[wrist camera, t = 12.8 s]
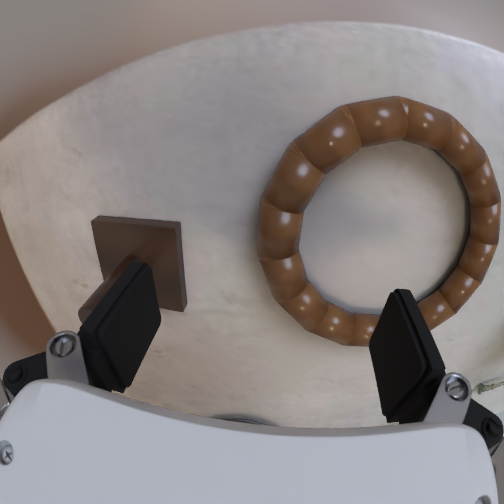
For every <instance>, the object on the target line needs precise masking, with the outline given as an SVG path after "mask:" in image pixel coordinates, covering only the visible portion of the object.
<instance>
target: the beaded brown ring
mask: <svg viewBox="0 0 504 504" xmlns="http://www.w3.org/2000/svg"><path fill="white" fill-rule="evenodd" d="M398 140H403V141H407V142H411V143H414V144H418V145H422V146H425V147H428V148H432V149H435V150H436V151H437V152H438V153H439V154H441V155H442V156H443V157H444V158H445V159H446V160H447V161H448V162H449V163H450V164H451V165H452V166H453V167H454V168H455V169H456V170H457V171H458V172H459V174H460V177H461V179H462V181H463V184H464V186H465V189H466V191H467V194H468V196H469V199H470V235H469V237H468V240H467V243H466V246H465V249H464V252H463V254H462V257H461V259H460V262H459V264H458V265H457V267H456V268H455V269H454V271H453V272H452V273H451V274H450V276H449V277H448V278H447V279H446V281H445V282H444V283H443V284H442V286H441V287H440V288H439V289H438V290H437V291H435V292H434V293H432V294H431V295H429V296H428V297H426V298H425V299H423V300H422V301H420V302H419V303H417V305H418V307H419V309H420V311H421V313H422V315H423V317H424V319H425V321H426V324H427V326H428V328H429V330H432V329H433V328H435V327H437V326H438V325H440V324H441V323H443V322H444V321H446V320H447V319H449V318H450V317H452V316H453V315H454V314H456V313H457V312H458V310H459V309H460V308H461V307H462V306H463V305H464V304H465V302H466V301H467V300H468V299H469V298H470V297H471V295H472V294H473V293H474V292H475V290H476V289H477V288H478V287H479V285H480V284H481V283H482V281H483V279H484V277H485V275H486V272H487V270H488V268H489V265H490V263H491V260H492V258H493V255H494V253H495V250H496V248H497V245H498V241H499V231H500V214H501V196H500V192H499V189H498V185H497V182H496V179H495V176H494V173H493V170H492V167H491V164H490V162H489V159H488V156H487V154H486V152H485V150H484V149H483V147H482V146H481V145H480V144H479V143H478V142H477V141H476V140H475V138H474V137H473V136H472V135H471V134H470V133H469V132H468V131H467V130H466V129H465V128H464V127H463V126H462V125H461V124H460V123H459V122H458V121H457V120H456V119H455V118H454V117H453V116H452V115H451V114H449V113H447V112H445V111H443V110H440V109H437V108H434V107H432V106H429V105H426V104H423V103H420V102H417V101H414V100H411V99H407V98H404V97H400V96H392V97H385V98H379V99H373V100H367V101H362V102H356V103H351V104H346V105H342V106H340V107H338V108H336V109H335V110H333V111H332V112H331V113H329V114H328V115H326V116H325V117H324V118H322V119H321V120H320V121H318V122H317V123H316V124H314V125H313V126H312V127H310V128H309V129H308V130H306V131H305V132H304V133H303V134H301V135H300V136H299V137H297V138H296V139H295V140H294V141H293V142H291V143H290V145H289V146H288V148H287V149H286V151H285V153H284V155H283V157H282V159H281V160H280V162H279V164H278V166H277V168H276V170H275V172H274V173H273V175H272V177H271V179H270V181H269V183H268V185H267V187H266V188H265V190H264V192H263V194H262V197H261V201H260V215H259V228H258V242H257V254H258V258H259V261H260V263H261V266H262V269H263V271H264V274H265V277H266V279H267V282H268V285H269V287H270V290H271V293H272V295H273V297H274V299H275V300H276V302H277V303H278V304H279V305H280V306H281V307H282V308H283V309H284V310H285V311H286V312H287V313H288V314H289V315H290V316H291V317H293V318H294V319H295V320H296V321H297V322H298V323H299V324H300V325H301V326H302V327H303V328H304V329H305V330H307V331H309V332H311V333H314V334H316V335H318V336H321V337H323V338H326V339H328V340H331V341H333V342H336V343H338V344H341V345H345V346H367V347H369V341H370V338H371V336H372V334H373V332H374V330H375V327H376V325H377V323H378V321H379V318H380V316H381V315H372V314H357V313H351V312H349V311H347V310H344V309H342V308H340V307H338V306H336V305H334V304H332V303H329V302H327V301H326V300H325V299H324V298H323V297H322V296H321V294H320V293H319V292H318V291H317V290H316V289H315V288H314V286H313V285H312V284H311V283H310V282H309V281H308V280H307V277H306V273H305V270H304V266H303V263H302V259H301V256H300V253H299V249H298V247H299V241H300V234H301V227H302V220H303V213H304V210H305V208H306V207H307V205H308V203H309V202H310V200H311V198H312V197H313V195H314V193H315V192H316V190H317V188H318V187H319V185H320V183H321V182H322V180H323V178H324V177H325V175H326V174H327V173H328V172H330V171H331V170H332V169H334V168H335V167H336V166H338V165H339V164H340V163H342V162H343V161H345V160H346V159H347V158H349V157H350V156H351V155H353V154H354V153H355V152H357V151H358V150H360V149H361V148H364V147H368V146H373V145H378V144H383V143H388V142H393V141H398Z"/></svg>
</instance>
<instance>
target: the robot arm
mask: <svg viewBox="0 0 504 504" xmlns="http://www.w3.org/2000/svg"><path fill="white" fill-rule="evenodd" d="M160 323H161V314H160V309H159V304H158V299H157V294H156V289H155V283H154V277H153V272H152V268H151V267H149V266H148V264H147V263H146V262H139V261H133V262H131V264H130V265H129V266H128V267H127V268H126V269H125V271H124V272H123V273H122V274H121V276H120V277H119V278H118V279H117V280H116V282H115V283H114V284H113V285H112V287H111V288H110V289H109V290H108V292H107V293H106V294H105V295H104V297H103V298H102V299H101V300H100V302H99V303H98V304H97V306H96V307H95V308H94V310H93V311H92V312H91V313H90V315H89V316H88V317H87V319H86V320H85V321H84V323H83V324H82V326H81V327H80V328H79V329H80V331H79V332H78V333H77V334H76V333H75V332H73V331H67V330H66V331H61V332H58V333H56V334H55V335H53V336H52V337H51V338H50V339H49V341H48V343H47V345H46V351H45V352H42V353H39V354H36V355H34V356H31V357H28V358H25V359H22V360H19V361H16V362H14V363H12V364H10V365H9V366H8V367H7V369H6V370H5V372H4V375H3V380H1V379H0V504H504V437H503V425H502V422H501V420H500V419H499V417H497V416H496V415H495V414H494V413H492V412H491V411H489V410H488V409H486V408H485V407H483V406H482V405H480V404H479V403H477V402H476V401H474V400H473V399H471V395H472V389H471V385H470V383H469V382H468V380H467V379H466V378H465V377H464V376H462V375H461V374H458V373H454V372H451V373H448V374H446V373H445V365H444V363H443V360H442V358H441V355H440V353H439V350H438V348H437V346H436V343H435V341H434V339H433V337H432V334H431V332H430V330H429V328H428V326H427V324H426V321H425V319H424V317H423V315H422V313H421V311H420V309H419V307H418V305H417V303H416V301H415V299H414V297H413V295H412V293H411V291H410V290H406V289H395V290H394V292H391V293H390V295H389V297H388V299H387V302H386V304H385V307H384V309H383V311H382V314H381V316H380V318H379V321H378V323H377V325H376V327H375V330H374V332H373V334H372V336H371V338H370V341H369V350H370V354H371V359H372V363H373V368H374V372H375V377H376V382H377V387H378V392H379V397H380V403H381V408H382V413H383V415H384V416H386V419H387V423H391V422H399V424H398V425H388V426H374V427H359V428H295V427H279V426H267V425H257V424H248V423H240V422H233V421H226V420H220V419H214V418H209V417H203V416H198V415H193V414H188V413H184V412H179V411H175V410H171V409H167V408H163V407H159V406H155V405H152V404H148V403H144V402H141V401H138V400H134V399H131V398H127V397H124V396H121V395H118V394H115V393H112V392H111V391H112V390H115V391H117V392H120V393H124V391H125V389H126V387H130V385H131V383H132V381H133V379H134V377H135V375H136V373H137V371H138V369H139V367H140V365H141V362H142V360H143V358H144V356H145V354H146V352H147V350H148V348H149V346H150V344H151V342H152V340H153V338H154V336H155V334H156V332H157V330H158V328H159V326H160Z"/></svg>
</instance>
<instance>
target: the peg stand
mask: <svg viewBox="0 0 504 504" xmlns="http://www.w3.org/2000/svg"><path fill="white" fill-rule="evenodd" d="M91 225H92V230H93V235H94V240H95V245H96V249H97V254H98V258H99V263H100V267H101V271H102V275H103V278H104V282H103V283H102V284H101V285H100V286H99V287H98V288H97V289H96V291H95V292H94V293H93V294H92V295H91V296H90V297H89V299H88V300H87V301H86V302H85V303H84V304H83V306H82V307H81V308H80V309H79V311H78V316H79V319H80V321H81V322H82V324H83V323H84V321H85V320H86V319H87V317H88V316H89V315H90V313H91V312H92V311H93V310H94V308H95V307H96V306H97V304H98V303H99V302H100V300H101V299H102V298H103V297H104V295H105V294H106V293H107V292H108V290H109V289H110V288H111V287H112V285H113V284H114V283H115V282H116V280H117V279H118V278H119V277H120V276H121V274H122V273H123V272H124V271H125V269H126V268H127V267H128V266H129V265H130V264H131V262H133V261H139V262H146V263H147V264H148V266H149V267H151V268H152V272H153V277H154V283H155V289H156V294H157V299H158V304H159V308H163V309H168V310H174V311H179V312H183V311H184V309H185V307H186V305H187V299H186V289H185V279H184V267H183V255H182V241H181V225H180V222H173V221H161V220H148V219H135V218H122V217H108V216H97V217H96V218H95V219H93V220H92V221H91Z"/></svg>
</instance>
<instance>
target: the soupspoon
mask: <svg viewBox="0 0 504 504" xmlns="http://www.w3.org/2000/svg"><path fill="white" fill-rule="evenodd" d="M502 385H504V382H501V383H499V384H496V385H494V384H492V385H491V386H490V385H486V386H485V385H482V384H480V385H479V386H478V394H481V393H482V392H484V391H488V390H490V389H491V390H492V389H494V388H496V387H499V386H502Z"/></svg>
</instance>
